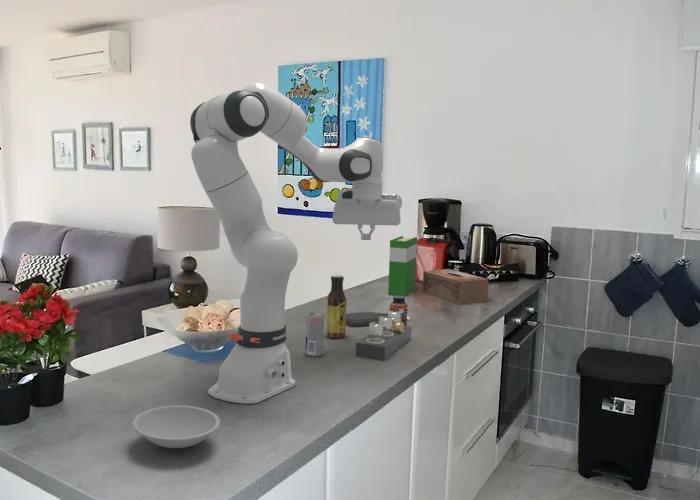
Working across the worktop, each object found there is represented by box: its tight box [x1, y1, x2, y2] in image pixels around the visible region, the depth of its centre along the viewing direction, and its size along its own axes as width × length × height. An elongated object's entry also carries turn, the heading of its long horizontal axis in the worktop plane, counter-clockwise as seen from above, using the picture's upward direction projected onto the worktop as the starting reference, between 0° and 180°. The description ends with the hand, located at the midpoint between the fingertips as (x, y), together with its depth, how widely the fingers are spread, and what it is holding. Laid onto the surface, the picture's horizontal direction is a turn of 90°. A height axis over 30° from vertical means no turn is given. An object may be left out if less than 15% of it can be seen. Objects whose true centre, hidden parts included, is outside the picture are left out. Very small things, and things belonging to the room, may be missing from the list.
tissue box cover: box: [422, 268, 489, 306], centre depth 249 cm, size 26×14×10 cm, turn 29°
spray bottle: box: [346, 311, 411, 328], centre depth 208 cm, size 3×11×24 cm
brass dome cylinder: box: [394, 322, 404, 334], centre depth 179 cm, size 3×3×3 cm
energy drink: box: [304, 311, 325, 357], centre depth 169 cm, size 5×5×12 cm
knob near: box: [368, 322, 383, 342], centre depth 170 cm, size 4×4×5 cm
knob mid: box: [379, 316, 392, 335], centre depth 177 cm, size 4×4×5 cm
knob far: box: [387, 310, 401, 329], centre depth 184 cm, size 4×4×5 cm
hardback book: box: [387, 235, 418, 298], centre depth 255 cm, size 18×7×24 cm, turn 159°
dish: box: [132, 404, 221, 449], centre depth 112 cm, size 18×14×5 cm
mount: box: [355, 326, 412, 361], centre depth 177 cm, size 24×9×4 cm, turn 156°
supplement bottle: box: [389, 296, 408, 326], centre depth 197 cm, size 6×6×11 cm
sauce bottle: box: [325, 274, 347, 339], centre depth 186 cm, size 7×6×20 cm
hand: (365, 239), depth 173 cm, fingers closed
